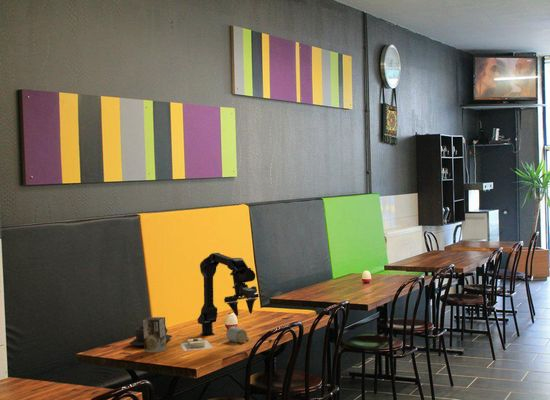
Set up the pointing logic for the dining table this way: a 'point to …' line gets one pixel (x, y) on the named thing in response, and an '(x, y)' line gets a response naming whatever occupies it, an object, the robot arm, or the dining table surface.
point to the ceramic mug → (237, 334)
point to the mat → (186, 348)
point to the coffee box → (154, 334)
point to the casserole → (140, 336)
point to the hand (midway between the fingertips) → (244, 314)
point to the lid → (196, 343)
